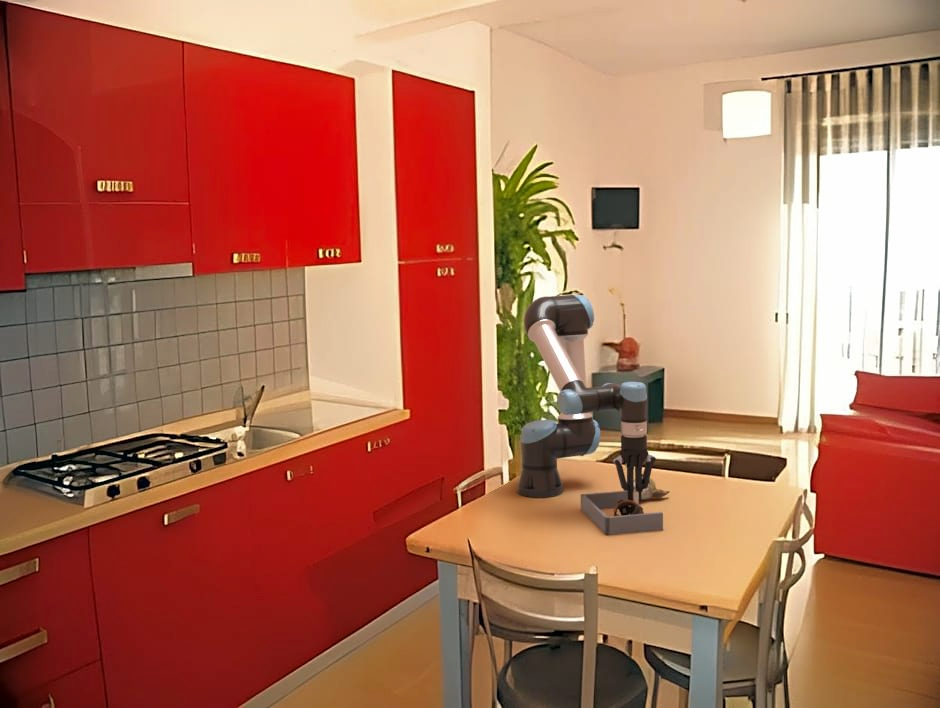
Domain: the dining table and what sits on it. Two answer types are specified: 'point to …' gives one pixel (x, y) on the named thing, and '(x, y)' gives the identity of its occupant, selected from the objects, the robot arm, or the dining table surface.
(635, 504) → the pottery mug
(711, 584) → the dining table surface
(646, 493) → the ceramic sculpture
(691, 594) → the dining table surface
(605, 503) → the walled box
